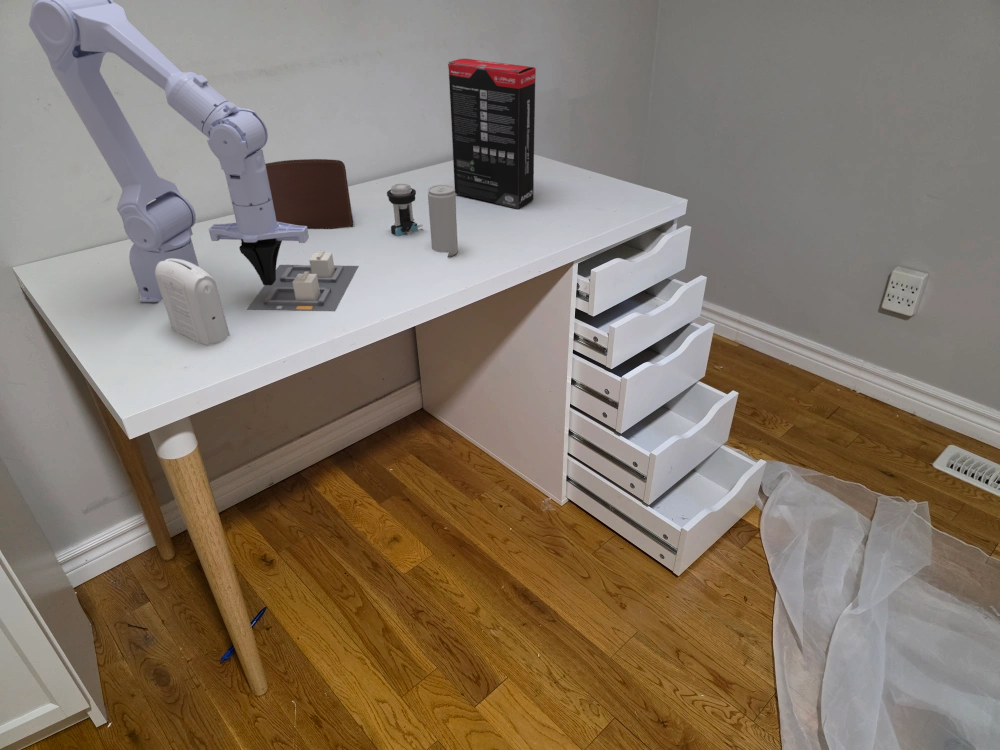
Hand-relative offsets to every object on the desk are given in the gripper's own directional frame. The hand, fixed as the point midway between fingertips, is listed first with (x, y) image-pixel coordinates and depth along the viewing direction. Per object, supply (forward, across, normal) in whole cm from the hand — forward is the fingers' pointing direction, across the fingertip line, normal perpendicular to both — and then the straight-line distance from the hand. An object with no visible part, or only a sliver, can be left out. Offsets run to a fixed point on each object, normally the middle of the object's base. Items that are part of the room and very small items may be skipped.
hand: (269, 282), depth 109 cm
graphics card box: (+4, +32, +48) cm, 58 cm away
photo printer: (+4, -7, -11) cm, 14 cm away
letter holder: (+4, -6, +34) cm, 34 cm away
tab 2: (+3, +6, +8) cm, 10 cm away
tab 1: (+3, +6, 0) cm, 6 cm away
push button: (+4, +17, +28) cm, 33 cm away
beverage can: (+4, +25, +20) cm, 33 cm away
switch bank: (+4, +4, +4) cm, 7 cm away
